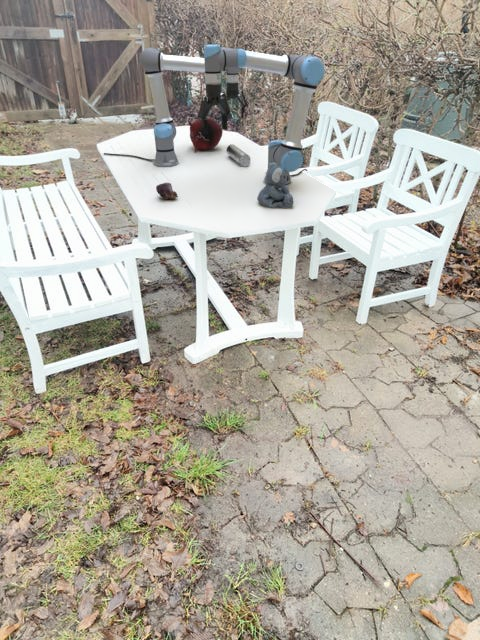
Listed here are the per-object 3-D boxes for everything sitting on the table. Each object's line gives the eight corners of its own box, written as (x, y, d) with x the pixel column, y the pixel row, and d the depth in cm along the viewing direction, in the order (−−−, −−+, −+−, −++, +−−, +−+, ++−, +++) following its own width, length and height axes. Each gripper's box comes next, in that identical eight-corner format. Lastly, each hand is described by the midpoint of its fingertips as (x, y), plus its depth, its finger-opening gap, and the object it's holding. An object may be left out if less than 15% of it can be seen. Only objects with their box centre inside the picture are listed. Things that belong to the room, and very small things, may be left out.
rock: (172, 196, 246) (154, 198, 242) (170, 179, 242) (152, 182, 238) (179, 199, 236) (161, 201, 232) (177, 182, 233) (159, 184, 229)
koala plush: (294, 208, 225) (297, 169, 214) (259, 209, 224) (259, 170, 213) (288, 196, 240) (290, 159, 229) (255, 198, 239) (255, 160, 227)
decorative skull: (188, 123, 330) (185, 120, 306) (219, 116, 329) (218, 112, 306) (194, 153, 337) (192, 152, 313) (225, 146, 336) (225, 145, 313)
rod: (226, 156, 308) (226, 145, 304) (237, 155, 310) (236, 143, 306) (239, 167, 287) (239, 154, 282) (250, 166, 289) (250, 153, 284)
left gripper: (214, 83, 274) (215, 121, 286) (253, 82, 280) (252, 118, 292) (211, 82, 279) (212, 118, 292) (249, 80, 286) (248, 116, 298)
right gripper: (199, 86, 200) (202, 137, 212) (237, 81, 215) (237, 128, 227) (188, 85, 204) (191, 134, 216) (226, 80, 219) (227, 126, 231)
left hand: (232, 118), depth 292 cm, fingers open, 13 cm apart
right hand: (215, 131), depth 222 cm, fingers open, 13 cm apart
